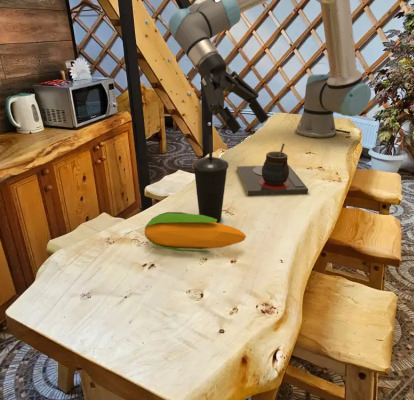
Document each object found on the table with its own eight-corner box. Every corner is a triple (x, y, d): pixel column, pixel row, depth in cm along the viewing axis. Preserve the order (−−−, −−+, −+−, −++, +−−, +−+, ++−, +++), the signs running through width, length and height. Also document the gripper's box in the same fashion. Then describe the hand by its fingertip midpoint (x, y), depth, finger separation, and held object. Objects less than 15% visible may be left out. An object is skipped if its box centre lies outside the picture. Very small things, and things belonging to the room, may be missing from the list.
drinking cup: (188, 215, 86) (186, 131, 77) (218, 209, 89) (219, 128, 80) (200, 231, 80) (200, 141, 71) (232, 224, 82) (236, 137, 74)
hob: (288, 169, 113) (288, 164, 113) (307, 194, 97) (308, 188, 96) (236, 171, 112) (237, 165, 111) (247, 196, 96) (248, 190, 95)
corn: (148, 202, 75) (247, 207, 73) (151, 233, 78) (245, 239, 76) (138, 222, 68) (246, 229, 66) (142, 255, 72) (244, 262, 70)
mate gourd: (257, 185, 98) (259, 149, 94) (265, 175, 104) (267, 141, 100) (284, 189, 96) (288, 152, 91) (290, 179, 102) (294, 144, 97)
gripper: (226, 67, 112) (266, 124, 110) (169, 76, 94) (215, 144, 92) (242, 49, 106) (284, 109, 104) (184, 54, 89) (233, 126, 87)
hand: (252, 125), depth 98 cm, fingers open, 13 cm apart
